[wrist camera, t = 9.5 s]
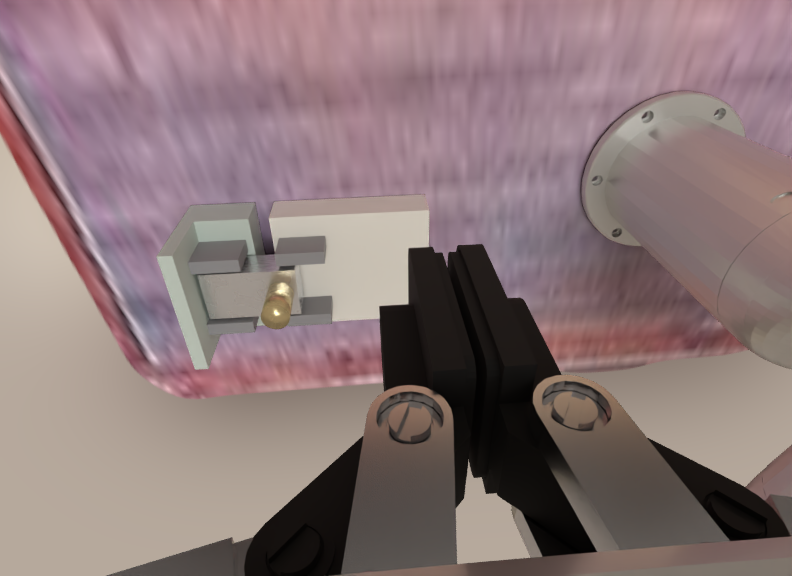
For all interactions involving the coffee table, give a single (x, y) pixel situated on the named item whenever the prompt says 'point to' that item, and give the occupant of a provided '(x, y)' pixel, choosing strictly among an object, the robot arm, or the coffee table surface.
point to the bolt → (255, 292)
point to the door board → (349, 252)
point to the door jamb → (208, 270)
